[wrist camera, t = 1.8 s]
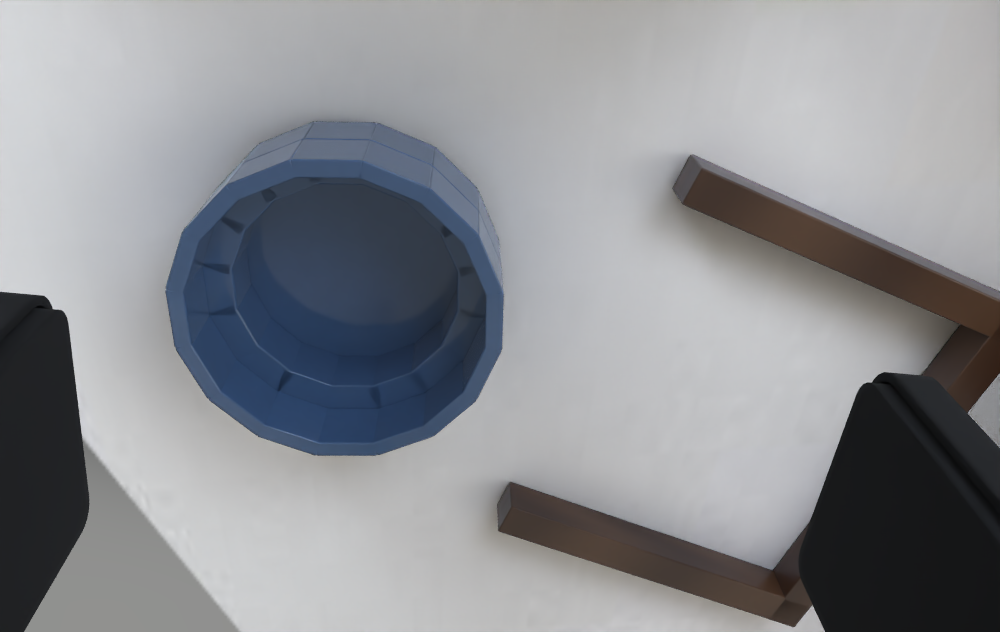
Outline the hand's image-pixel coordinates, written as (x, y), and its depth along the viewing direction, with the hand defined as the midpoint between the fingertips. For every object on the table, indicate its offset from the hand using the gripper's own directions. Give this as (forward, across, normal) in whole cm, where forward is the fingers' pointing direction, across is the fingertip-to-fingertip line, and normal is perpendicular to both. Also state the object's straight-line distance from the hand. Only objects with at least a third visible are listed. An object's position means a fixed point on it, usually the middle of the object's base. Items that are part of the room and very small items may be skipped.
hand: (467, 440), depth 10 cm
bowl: (+23, +4, +8) cm, 24 cm away
